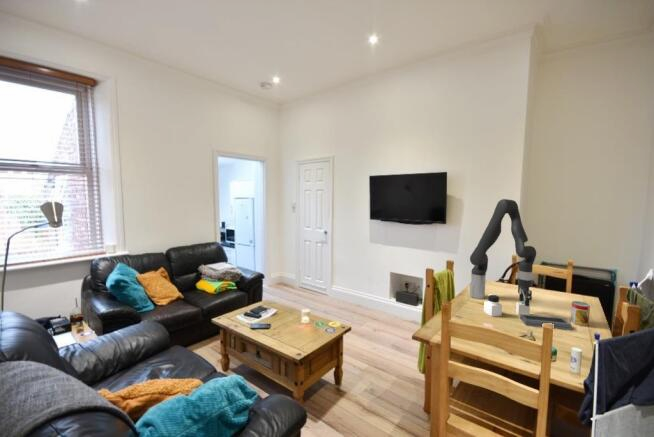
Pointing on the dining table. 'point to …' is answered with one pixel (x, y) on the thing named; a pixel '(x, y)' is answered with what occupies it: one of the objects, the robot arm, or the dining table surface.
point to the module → (522, 308)
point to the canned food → (580, 313)
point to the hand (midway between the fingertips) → (524, 303)
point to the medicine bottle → (493, 306)
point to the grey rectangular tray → (545, 321)
